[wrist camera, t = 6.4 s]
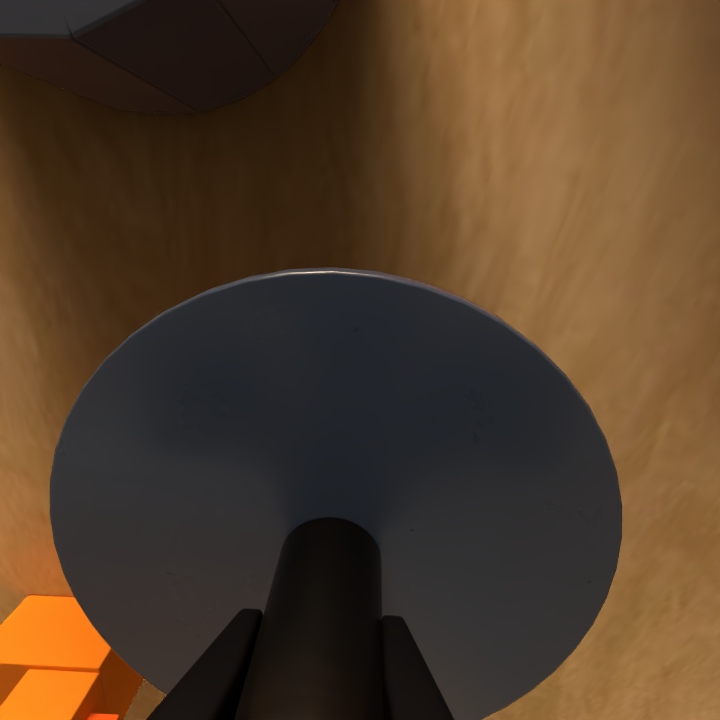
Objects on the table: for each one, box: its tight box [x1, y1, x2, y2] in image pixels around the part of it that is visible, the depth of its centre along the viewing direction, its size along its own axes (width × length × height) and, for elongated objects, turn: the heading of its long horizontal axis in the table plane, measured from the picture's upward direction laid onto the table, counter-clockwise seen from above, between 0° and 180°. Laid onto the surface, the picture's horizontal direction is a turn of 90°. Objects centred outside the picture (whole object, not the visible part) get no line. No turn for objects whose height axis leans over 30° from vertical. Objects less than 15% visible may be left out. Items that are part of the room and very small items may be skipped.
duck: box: [0, 595, 144, 720], centre depth 18 cm, size 6×4×6 cm, turn 89°
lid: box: [50, 267, 622, 720], centre depth 9 cm, size 14×14×6 cm
